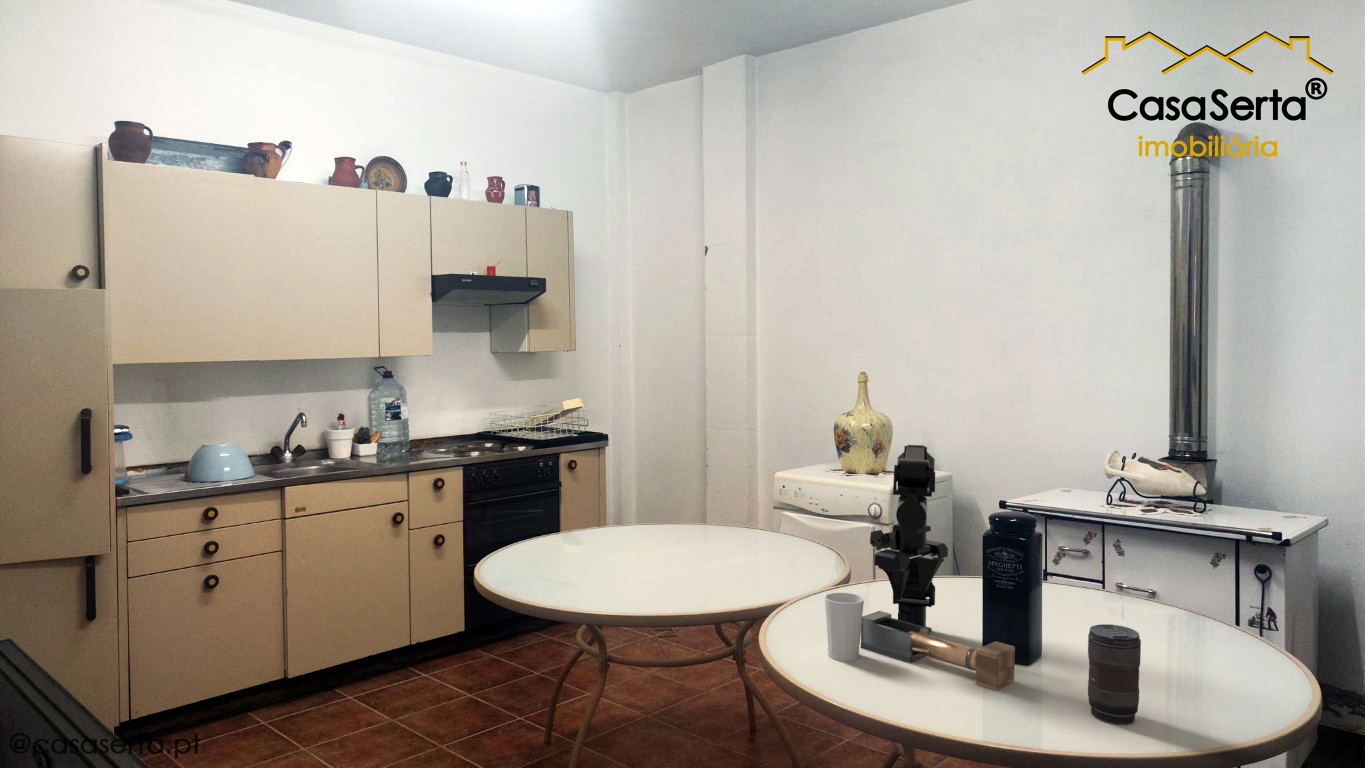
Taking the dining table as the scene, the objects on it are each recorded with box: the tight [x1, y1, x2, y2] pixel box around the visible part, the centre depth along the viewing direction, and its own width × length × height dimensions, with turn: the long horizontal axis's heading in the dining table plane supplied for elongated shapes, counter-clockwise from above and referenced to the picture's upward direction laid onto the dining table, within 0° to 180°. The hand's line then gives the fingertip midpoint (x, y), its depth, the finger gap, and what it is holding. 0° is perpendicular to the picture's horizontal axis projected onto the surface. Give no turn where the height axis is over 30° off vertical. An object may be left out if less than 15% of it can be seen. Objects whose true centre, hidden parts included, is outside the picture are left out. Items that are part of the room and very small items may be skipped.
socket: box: [975, 640, 1016, 691], centre depth 165 cm, size 7×4×7 cm, turn 132°
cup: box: [823, 592, 865, 662], centre depth 179 cm, size 8×8×12 cm
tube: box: [909, 631, 977, 672], centre depth 171 cm, size 19×4×4 cm, turn 42°
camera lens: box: [1087, 623, 1142, 725], centre depth 150 cm, size 8×8×15 cm
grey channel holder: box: [860, 610, 930, 664], centre depth 181 cm, size 12×7×7 cm, turn 42°
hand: (910, 595), depth 181 cm, fingers open, 9 cm apart
